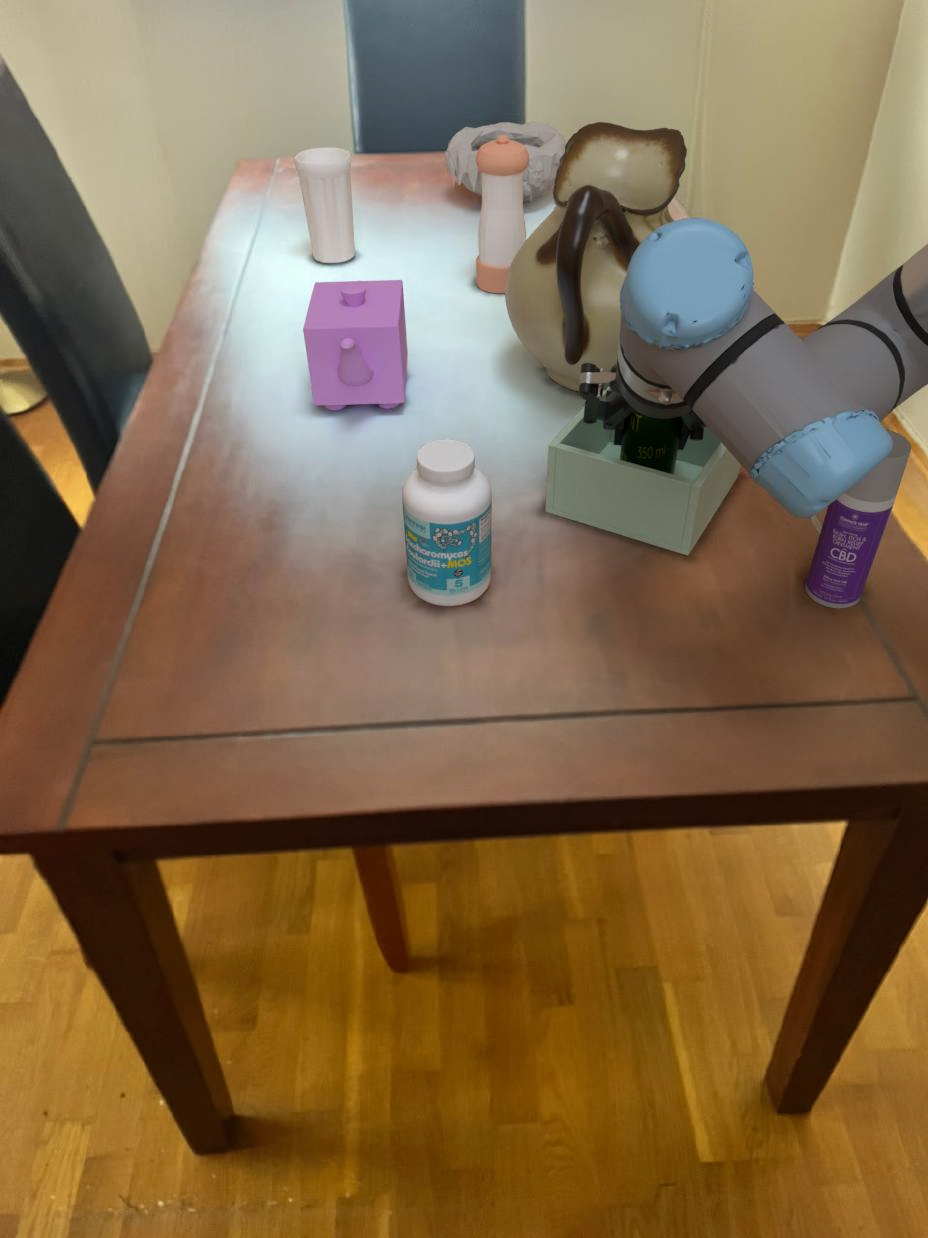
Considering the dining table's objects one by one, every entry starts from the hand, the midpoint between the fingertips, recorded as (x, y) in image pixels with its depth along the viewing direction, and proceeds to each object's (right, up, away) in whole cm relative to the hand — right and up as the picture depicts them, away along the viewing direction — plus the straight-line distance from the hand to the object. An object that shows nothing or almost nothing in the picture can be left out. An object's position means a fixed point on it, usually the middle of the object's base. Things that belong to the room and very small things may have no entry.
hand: (649, 433), depth 92 cm
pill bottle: (-20, -15, -9) cm, 26 cm away
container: (+14, -16, -11) cm, 24 cm away
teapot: (-30, +7, +16) cm, 35 cm away
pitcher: (-2, +11, +19) cm, 22 cm away
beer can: (-1, -5, 0) cm, 5 cm away
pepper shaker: (-13, +29, +39) cm, 51 cm away
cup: (-38, +36, +48) cm, 71 cm away
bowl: (-11, +53, +66) cm, 85 cm away
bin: (-1, -6, +1) cm, 6 cm away
